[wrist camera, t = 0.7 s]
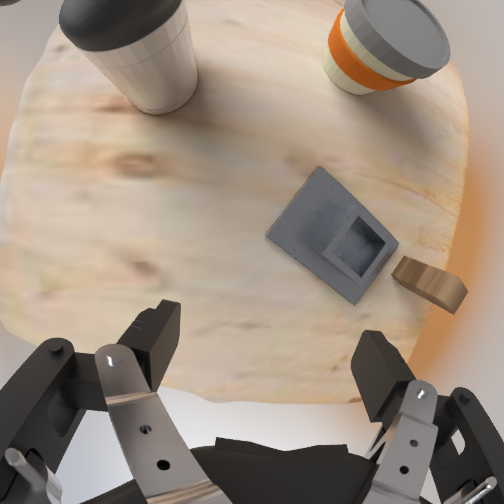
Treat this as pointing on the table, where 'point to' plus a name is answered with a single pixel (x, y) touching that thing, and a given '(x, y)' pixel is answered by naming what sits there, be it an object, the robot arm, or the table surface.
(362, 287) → the grey square tube bracket
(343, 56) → the reusable coffee cup
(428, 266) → the brown square block
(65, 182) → the table surface
